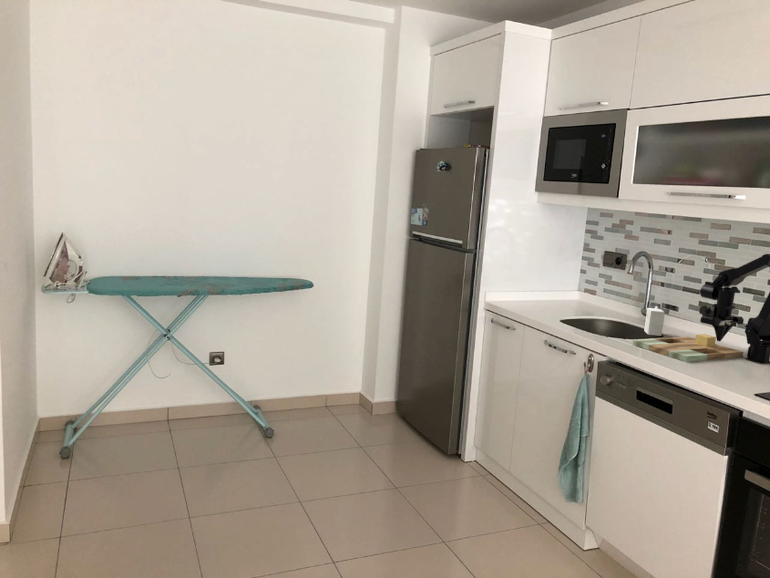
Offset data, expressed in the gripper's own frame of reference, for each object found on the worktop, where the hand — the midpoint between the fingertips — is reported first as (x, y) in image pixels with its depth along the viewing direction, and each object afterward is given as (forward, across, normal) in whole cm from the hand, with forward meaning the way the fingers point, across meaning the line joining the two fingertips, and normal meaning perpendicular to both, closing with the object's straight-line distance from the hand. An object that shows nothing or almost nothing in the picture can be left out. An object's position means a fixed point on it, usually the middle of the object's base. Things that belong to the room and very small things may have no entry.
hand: (718, 341), depth 249 cm
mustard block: (+1, +8, 0) cm, 8 cm away
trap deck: (+3, +18, 0) cm, 19 cm away
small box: (+3, +6, -26) cm, 27 cm away
